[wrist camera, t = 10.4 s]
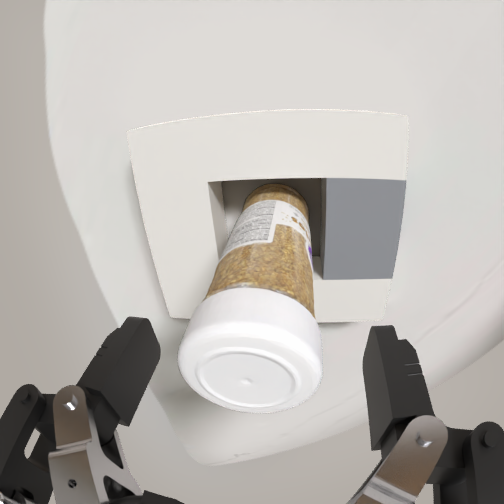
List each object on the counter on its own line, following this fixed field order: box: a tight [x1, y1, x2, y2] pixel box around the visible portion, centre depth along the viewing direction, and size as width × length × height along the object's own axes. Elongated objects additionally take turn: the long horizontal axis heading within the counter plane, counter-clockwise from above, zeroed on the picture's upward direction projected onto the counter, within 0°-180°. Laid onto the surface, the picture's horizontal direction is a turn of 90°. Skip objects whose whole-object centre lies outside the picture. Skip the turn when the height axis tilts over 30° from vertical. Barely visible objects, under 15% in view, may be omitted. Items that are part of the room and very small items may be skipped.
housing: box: [126, 109, 409, 323], centre depth 18 cm, size 16×14×3 cm
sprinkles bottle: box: [177, 184, 323, 413], centre depth 14 cm, size 5×5×14 cm
